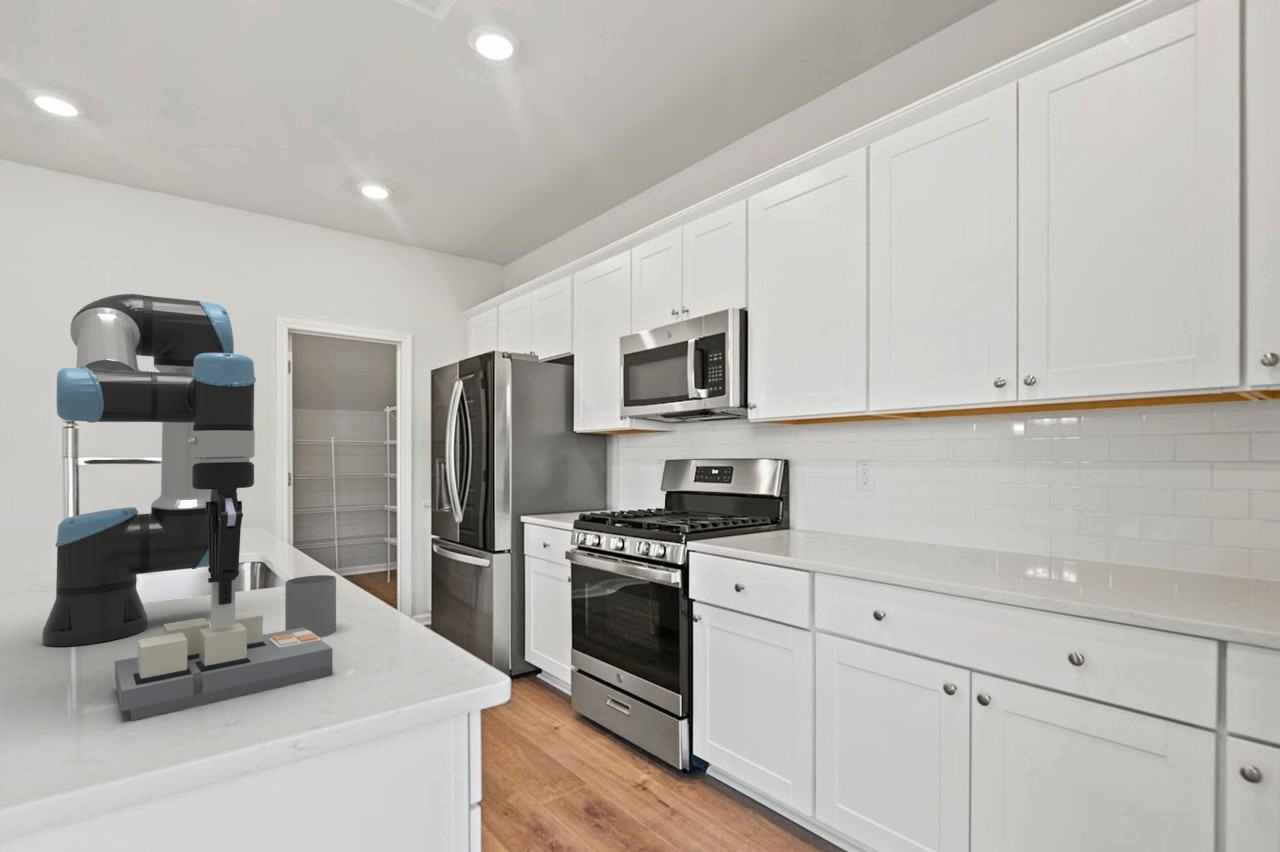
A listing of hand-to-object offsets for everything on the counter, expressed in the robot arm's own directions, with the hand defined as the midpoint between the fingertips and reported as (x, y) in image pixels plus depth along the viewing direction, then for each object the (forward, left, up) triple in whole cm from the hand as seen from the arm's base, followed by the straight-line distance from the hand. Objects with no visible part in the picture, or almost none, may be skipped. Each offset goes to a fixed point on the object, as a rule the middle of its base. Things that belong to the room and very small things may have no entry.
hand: (223, 625), depth 93 cm
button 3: (0, 0, -5) cm, 5 cm away
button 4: (-8, +3, -5) cm, 9 cm away
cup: (-23, +18, -9) cm, 30 cm away
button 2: (-8, -4, -5) cm, 9 cm away
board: (-4, +2, -9) cm, 10 cm away
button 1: (0, -7, -5) cm, 8 cm away
